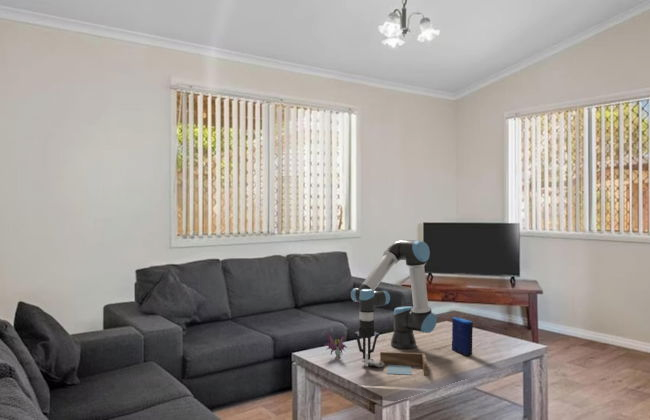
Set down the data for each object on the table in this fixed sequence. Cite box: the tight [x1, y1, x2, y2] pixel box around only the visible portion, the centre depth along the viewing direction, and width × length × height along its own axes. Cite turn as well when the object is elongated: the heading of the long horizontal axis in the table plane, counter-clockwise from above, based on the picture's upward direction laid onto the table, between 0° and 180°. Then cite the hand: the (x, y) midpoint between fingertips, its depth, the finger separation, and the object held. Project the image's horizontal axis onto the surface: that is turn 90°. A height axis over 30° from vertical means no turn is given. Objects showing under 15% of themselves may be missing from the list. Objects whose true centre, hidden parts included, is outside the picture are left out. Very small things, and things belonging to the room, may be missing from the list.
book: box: [451, 316, 474, 356], centre depth 279 cm, size 14×5×20 cm, turn 22°
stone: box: [361, 358, 385, 368], centre depth 255 cm, size 12×9×3 cm
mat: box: [387, 364, 413, 376], centre depth 248 cm, size 14×12×1 cm
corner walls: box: [379, 351, 428, 377], centre depth 250 cm, size 18×24×6 cm
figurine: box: [323, 331, 348, 360], centre depth 269 cm, size 14×8×15 cm, turn 74°
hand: (366, 365), depth 250 cm, fingers closed
